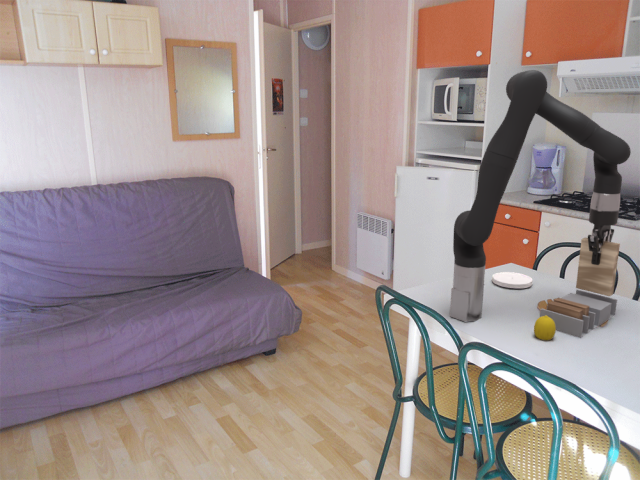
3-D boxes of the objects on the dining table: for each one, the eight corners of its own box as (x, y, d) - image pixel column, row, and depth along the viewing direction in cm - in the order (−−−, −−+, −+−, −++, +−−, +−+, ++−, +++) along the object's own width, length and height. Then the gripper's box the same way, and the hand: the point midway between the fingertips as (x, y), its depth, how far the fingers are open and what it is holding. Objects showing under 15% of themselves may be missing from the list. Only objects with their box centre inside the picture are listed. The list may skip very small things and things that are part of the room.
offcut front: (576, 335, 144) (579, 311, 143) (545, 325, 151) (547, 303, 149) (580, 332, 146) (583, 309, 144) (549, 322, 153) (551, 300, 151)
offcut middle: (582, 331, 147) (585, 308, 145) (551, 321, 153) (554, 299, 152) (586, 328, 148) (589, 306, 147) (555, 319, 155) (558, 297, 153)
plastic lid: (485, 279, 196) (485, 273, 195) (518, 277, 198) (519, 270, 198) (504, 292, 183) (504, 285, 182) (539, 289, 185) (540, 282, 184)
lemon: (536, 336, 148) (538, 310, 146) (556, 341, 144) (559, 314, 142) (529, 342, 143) (532, 316, 141) (550, 348, 140) (553, 321, 138)
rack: (580, 342, 143) (582, 321, 141) (538, 329, 152) (540, 308, 150) (614, 319, 158) (617, 299, 156) (574, 308, 167) (577, 289, 165)
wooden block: (609, 296, 154) (616, 245, 150) (575, 288, 162) (581, 238, 158) (613, 294, 156) (620, 243, 152) (579, 286, 163) (585, 237, 159)
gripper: (601, 202, 159) (594, 256, 164) (581, 209, 151) (574, 265, 155) (627, 206, 154) (619, 261, 158) (608, 212, 145) (600, 271, 149)
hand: (597, 263), depth 157 cm, fingers closed on wooden block, 2 cm apart
